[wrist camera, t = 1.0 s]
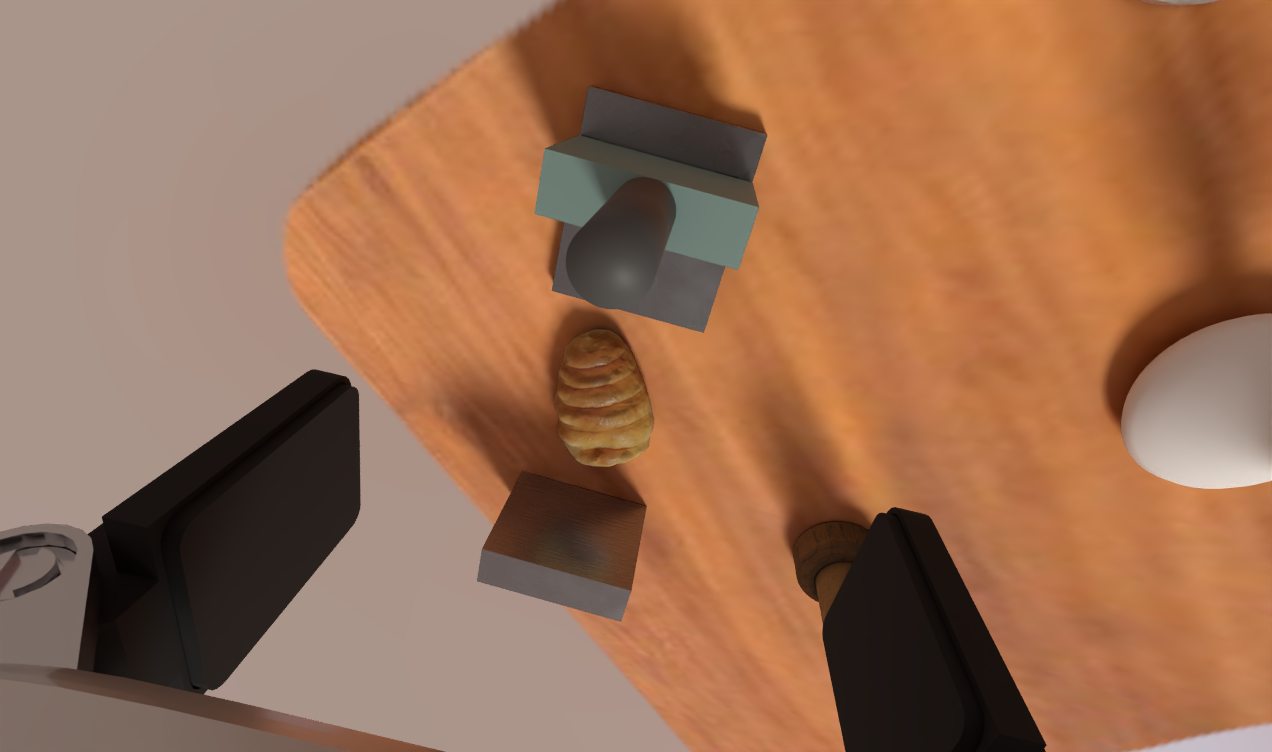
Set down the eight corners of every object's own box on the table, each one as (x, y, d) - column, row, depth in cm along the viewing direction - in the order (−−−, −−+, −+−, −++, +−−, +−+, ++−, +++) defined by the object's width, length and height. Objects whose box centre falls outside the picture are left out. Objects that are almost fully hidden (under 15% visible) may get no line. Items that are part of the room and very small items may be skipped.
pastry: (547, 327, 40) (531, 350, 37) (646, 322, 39) (639, 345, 36) (569, 444, 44) (556, 474, 41) (658, 442, 43) (653, 473, 40)
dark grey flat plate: (592, 85, 33) (588, 86, 32) (766, 133, 33) (767, 135, 32) (555, 285, 38) (551, 290, 37) (704, 326, 38) (703, 332, 37)
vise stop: (521, 471, 46) (481, 549, 38) (646, 506, 46) (631, 591, 38) (516, 500, 47) (477, 581, 39) (637, 534, 47) (621, 621, 39)
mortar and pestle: (776, 563, 46) (803, 817, 30) (822, 507, 43) (879, 756, 27) (850, 596, 47) (914, 863, 31) (900, 543, 44) (1000, 808, 28)
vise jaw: (578, 135, 33) (468, 179, 19) (752, 182, 33) (774, 263, 19) (569, 189, 34) (459, 268, 20) (735, 234, 34) (743, 346, 20)
